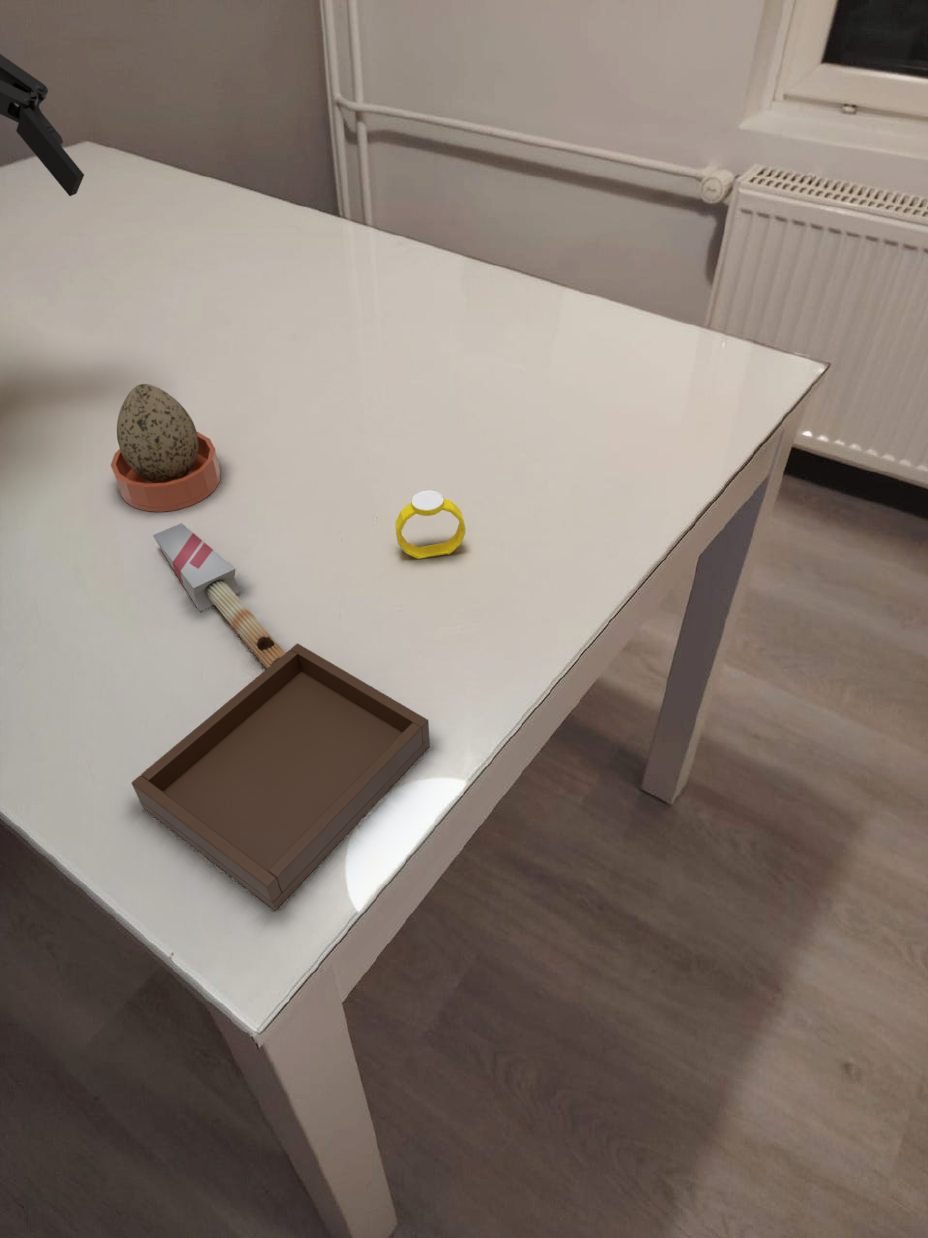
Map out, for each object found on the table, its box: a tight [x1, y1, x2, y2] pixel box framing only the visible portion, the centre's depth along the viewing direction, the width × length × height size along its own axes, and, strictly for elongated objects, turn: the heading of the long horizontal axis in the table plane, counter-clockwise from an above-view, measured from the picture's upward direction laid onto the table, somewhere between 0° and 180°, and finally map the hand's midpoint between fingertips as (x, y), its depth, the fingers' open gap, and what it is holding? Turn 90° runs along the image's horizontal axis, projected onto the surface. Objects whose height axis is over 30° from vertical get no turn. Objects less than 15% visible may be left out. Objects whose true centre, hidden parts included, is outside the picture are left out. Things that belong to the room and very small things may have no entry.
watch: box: [395, 489, 466, 560], centre depth 75 cm, size 6×3×6 cm, turn 100°
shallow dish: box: [110, 431, 221, 513], centre depth 84 cm, size 10×10×3 cm
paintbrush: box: [152, 522, 286, 669], centre depth 72 cm, size 4×3×20 cm
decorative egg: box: [116, 383, 198, 483], centre depth 81 cm, size 7×7×10 cm
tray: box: [131, 643, 431, 911], centre depth 60 cm, size 16×13×3 cm
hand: (13, 211), depth 72 cm, fingers open, 13 cm apart
